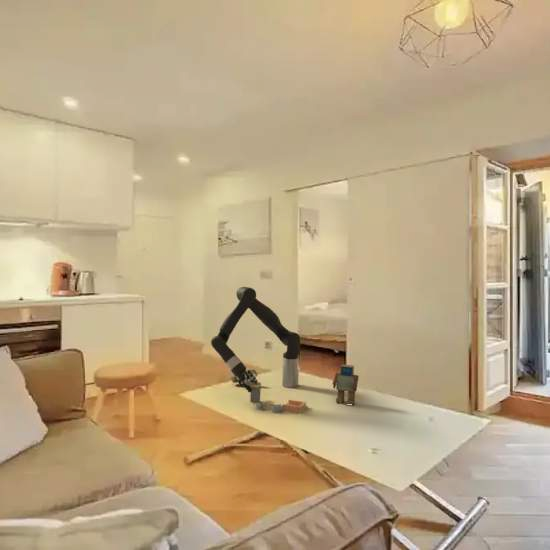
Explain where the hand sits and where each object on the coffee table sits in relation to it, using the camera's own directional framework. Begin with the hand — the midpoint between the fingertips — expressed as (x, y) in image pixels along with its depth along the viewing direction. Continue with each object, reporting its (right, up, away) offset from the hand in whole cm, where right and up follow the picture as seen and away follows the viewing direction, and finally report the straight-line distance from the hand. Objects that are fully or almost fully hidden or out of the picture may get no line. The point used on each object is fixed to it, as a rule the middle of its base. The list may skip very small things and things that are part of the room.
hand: (254, 389), depth 228 cm
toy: (+49, -8, +1) cm, 50 cm away
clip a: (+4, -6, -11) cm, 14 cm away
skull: (-8, -6, +32) cm, 33 cm away
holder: (+21, -7, -11) cm, 24 cm away
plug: (+1, -6, 0) cm, 6 cm away
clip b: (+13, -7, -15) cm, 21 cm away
